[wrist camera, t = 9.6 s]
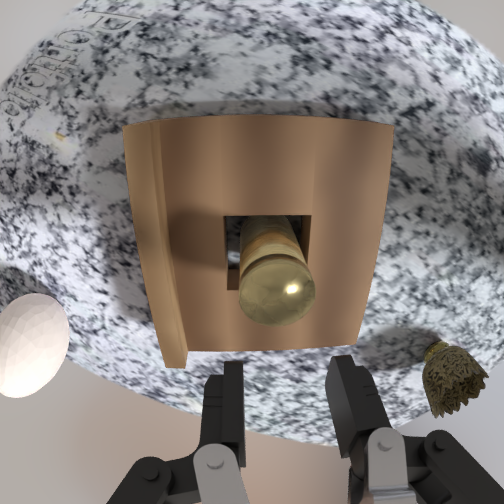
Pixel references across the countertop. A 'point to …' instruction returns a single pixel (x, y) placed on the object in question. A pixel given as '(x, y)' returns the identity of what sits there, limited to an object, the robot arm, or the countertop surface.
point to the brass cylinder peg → (273, 272)
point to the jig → (254, 203)
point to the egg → (31, 343)
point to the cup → (450, 377)
